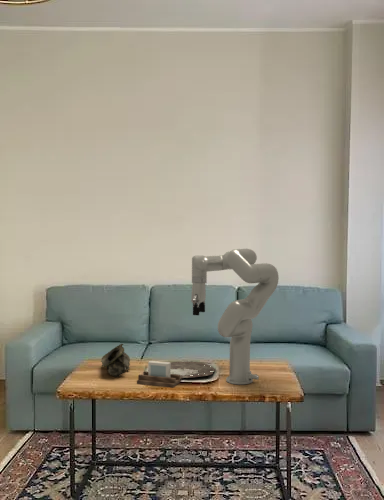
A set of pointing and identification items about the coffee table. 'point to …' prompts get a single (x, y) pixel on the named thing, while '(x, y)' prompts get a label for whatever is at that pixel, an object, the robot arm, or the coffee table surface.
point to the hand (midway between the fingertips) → (199, 313)
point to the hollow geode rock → (116, 361)
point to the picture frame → (159, 369)
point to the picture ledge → (158, 380)
